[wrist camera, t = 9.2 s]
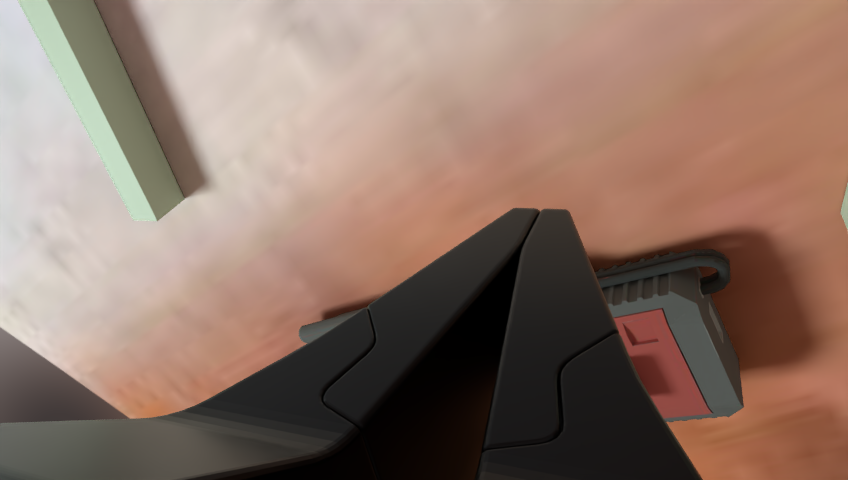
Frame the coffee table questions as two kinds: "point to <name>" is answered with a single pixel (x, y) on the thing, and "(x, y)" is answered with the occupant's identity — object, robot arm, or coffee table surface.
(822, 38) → the coffee table surface
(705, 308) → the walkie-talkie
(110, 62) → the green u-shaped bracket
